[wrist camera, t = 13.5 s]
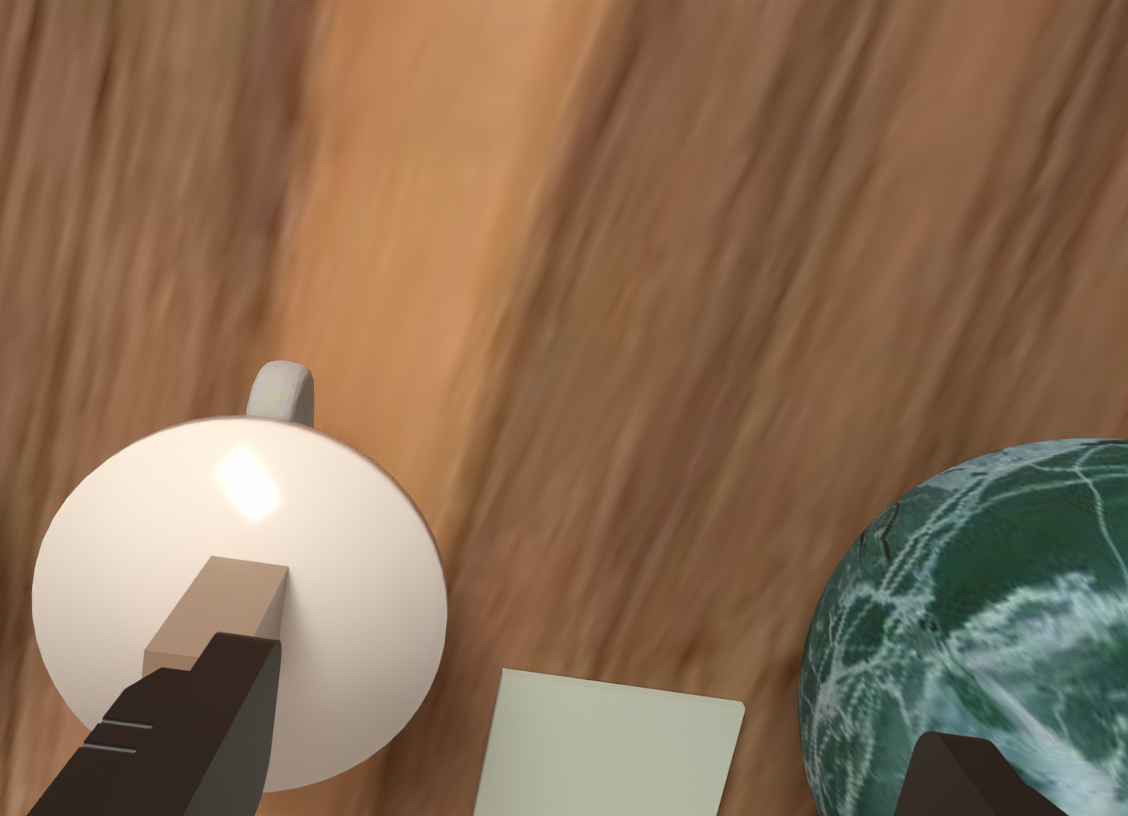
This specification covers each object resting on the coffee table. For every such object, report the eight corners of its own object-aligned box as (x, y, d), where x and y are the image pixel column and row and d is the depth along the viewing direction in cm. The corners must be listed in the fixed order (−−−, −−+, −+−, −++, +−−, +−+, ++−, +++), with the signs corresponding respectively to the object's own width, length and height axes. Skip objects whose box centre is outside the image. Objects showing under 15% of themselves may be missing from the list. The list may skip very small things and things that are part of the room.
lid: (476, 449, 31) (473, 530, 24) (417, 794, 34) (399, 953, 27) (58, 383, 29) (-73, 450, 22) (35, 751, 32) (-86, 908, 25)
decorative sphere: (1098, 300, 39) (1685, 431, 20) (1221, 679, 44) (1783, 1075, 25) (665, 509, 40) (828, 828, 21) (835, 857, 45) (1092, 1372, 26)
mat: (741, 701, 43) (745, 709, 42) (687, 904, 45) (689, 913, 45) (502, 668, 41) (502, 675, 41) (459, 878, 44) (459, 888, 43)
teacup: (369, 683, 41) (341, 803, 33) (120, 606, 39) (30, 713, 32) (483, 393, 38) (481, 451, 31) (220, 296, 37) (148, 331, 29)
